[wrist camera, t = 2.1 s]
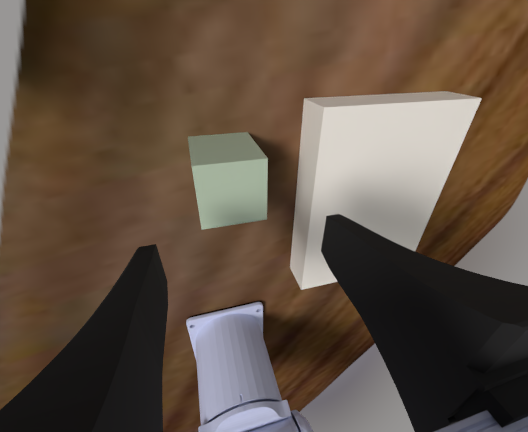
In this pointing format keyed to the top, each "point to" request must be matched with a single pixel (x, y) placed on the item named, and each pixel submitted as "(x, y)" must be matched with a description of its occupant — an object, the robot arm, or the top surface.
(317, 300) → the top surface
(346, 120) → the base plinth
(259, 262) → the top surface
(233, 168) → the green block
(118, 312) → the robot arm
